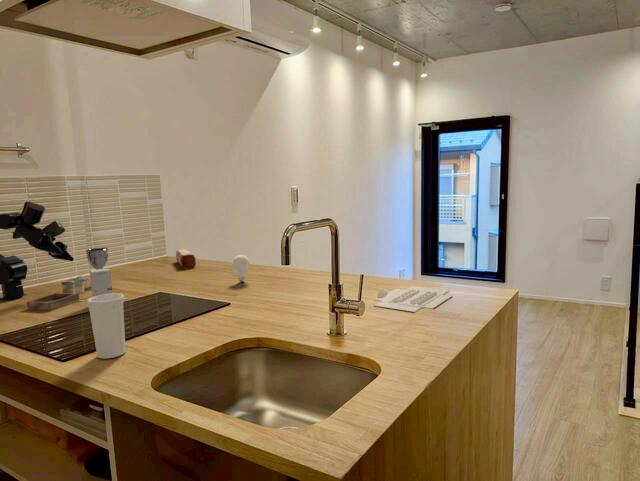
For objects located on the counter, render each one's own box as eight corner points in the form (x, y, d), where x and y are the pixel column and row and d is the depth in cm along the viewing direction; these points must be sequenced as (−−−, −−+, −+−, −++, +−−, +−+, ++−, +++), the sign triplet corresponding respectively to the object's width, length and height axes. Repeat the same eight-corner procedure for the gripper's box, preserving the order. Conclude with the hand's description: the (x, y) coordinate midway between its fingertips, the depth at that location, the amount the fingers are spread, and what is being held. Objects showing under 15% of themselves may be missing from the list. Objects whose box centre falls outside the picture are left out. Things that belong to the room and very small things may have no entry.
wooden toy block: (63, 297, 167) (61, 281, 166) (73, 293, 171) (72, 278, 171) (74, 297, 165) (72, 281, 164) (85, 294, 170) (83, 278, 169)
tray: (458, 294, 152) (458, 283, 152) (425, 320, 130) (425, 308, 130) (403, 287, 164) (403, 277, 164) (364, 310, 142) (363, 299, 142)
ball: (73, 285, 183) (72, 276, 183) (80, 283, 186) (79, 275, 186) (81, 285, 182) (80, 277, 182) (87, 283, 185) (86, 275, 185)
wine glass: (85, 287, 180) (81, 250, 178) (100, 282, 188) (96, 247, 186) (101, 288, 178) (96, 251, 176) (116, 283, 185) (112, 247, 183)
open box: (27, 309, 152) (26, 302, 151) (56, 299, 163) (55, 292, 163) (51, 310, 149) (50, 303, 149) (79, 300, 161) (78, 293, 160)
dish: (67, 287, 182) (66, 282, 182) (80, 283, 189) (79, 278, 188) (81, 288, 180) (80, 282, 180) (94, 283, 187) (93, 278, 186)
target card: (69, 300, 161) (69, 299, 161) (88, 294, 170) (87, 293, 170) (82, 301, 160) (82, 300, 159) (101, 294, 168) (101, 293, 168)
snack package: (176, 262, 230) (174, 248, 229) (190, 260, 233) (189, 247, 232) (181, 270, 210) (179, 254, 208) (196, 268, 212) (195, 253, 211)
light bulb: (247, 284, 176) (245, 256, 174) (231, 284, 177) (229, 256, 175) (252, 280, 182) (251, 253, 180) (237, 280, 183) (235, 253, 181)
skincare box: (94, 307, 151) (90, 272, 149) (92, 304, 154) (89, 270, 153) (114, 304, 154) (110, 269, 152) (112, 301, 158) (108, 267, 156)
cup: (96, 364, 103) (89, 304, 101) (90, 354, 110) (83, 297, 108) (133, 355, 108) (127, 297, 106) (125, 345, 114) (119, 291, 112)
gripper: (35, 208, 156) (71, 231, 155) (59, 225, 174) (92, 246, 173) (12, 233, 153) (49, 257, 152) (39, 248, 171) (73, 269, 170)
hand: (67, 256), depth 162 cm, fingers open, 9 cm apart
